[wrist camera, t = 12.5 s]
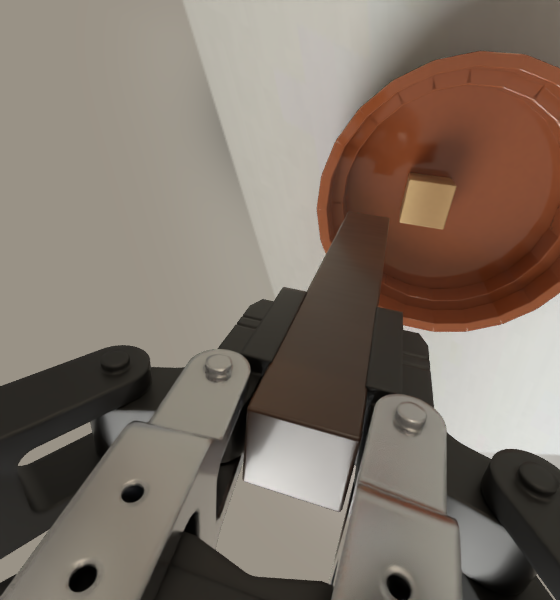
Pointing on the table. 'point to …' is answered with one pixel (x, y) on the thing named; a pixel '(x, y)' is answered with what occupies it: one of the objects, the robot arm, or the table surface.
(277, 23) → the table surface
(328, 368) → the stick
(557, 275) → the bowl
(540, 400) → the table surface
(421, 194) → the block
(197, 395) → the robot arm
